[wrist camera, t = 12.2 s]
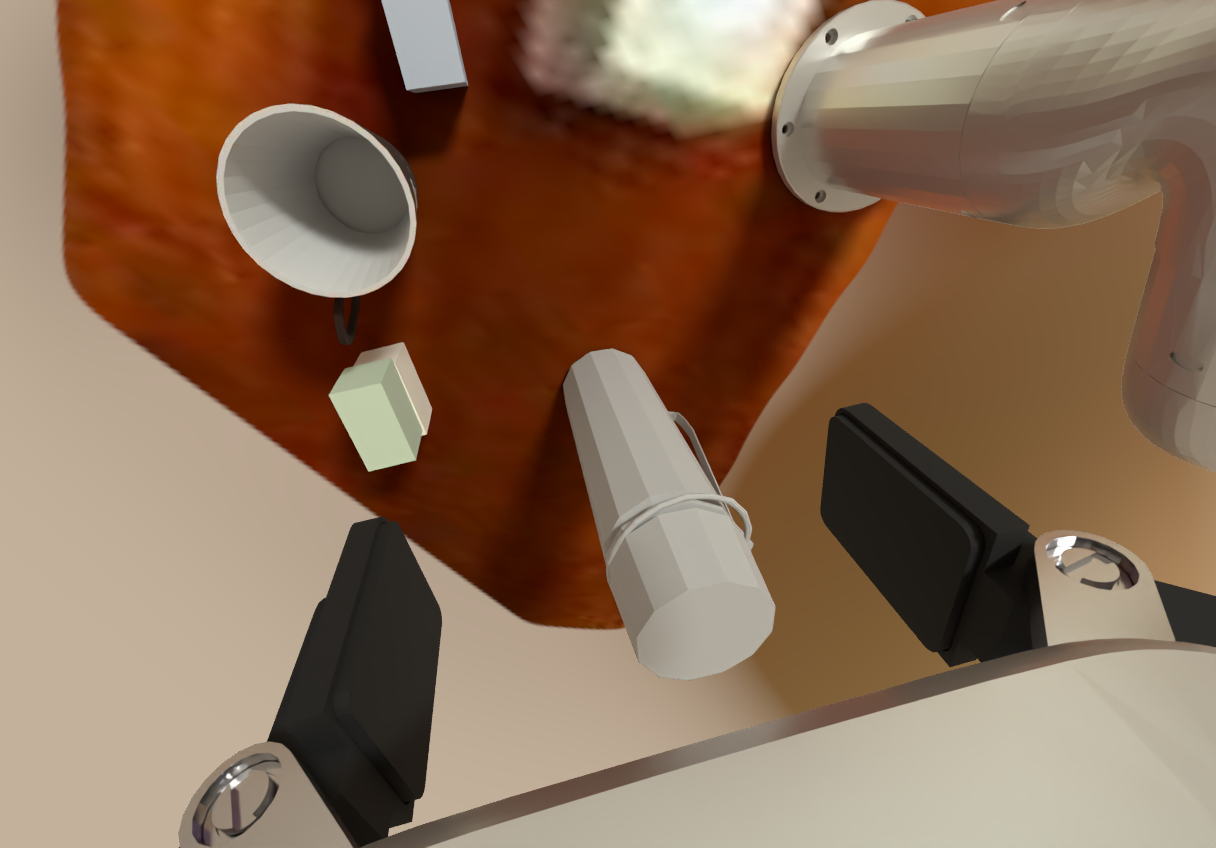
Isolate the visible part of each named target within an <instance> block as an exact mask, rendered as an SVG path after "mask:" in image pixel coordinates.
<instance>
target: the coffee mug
mask: <svg viewBox="0 0 1216 848" xmlns="http://www.w3.org/2000/svg"><path fill="white" fill-rule="evenodd" d="M216 181H217V194H218V198H219V202H220V205H221V209H222V212H223V215H224V217H225V219H226V221H227V223H228V225H229V227H230V229H231V232H232V233H233V235H234V236H235V238H236V239H237V240H238V242H239V243H240V245H241V246H242V247H243V249H244V250H245V251H246V252H247V253H248V254H249V255H250V256H251V257H252V258H253V259H254V261H255V262H256V263H257V264H258V265H259V266H261V267H262V268H263V269H265V270H266V271H267V272H269V273H270V274H271V275H273V276H274V277H275V278H277V279H279V280H281V281H282V282H284V283H286V284H288V285H290V286H292V287H294V288H296V289H299V290H302V291H305V292H307V293H310V294H314V295H320V296H325V297H335V305H334V322H335V328H336V333H337V337H338V340H339V342H340V344H343V345H349V344H351V343H352V342H353V340H354V337H355V333H356V327H357V320H358V312H359V302H360V295H364V294H367V293H369V292H372V291H374V290H377V289H379V288H381V287H382V286H384V285H385V284H387V283H388V282H390V281H391V280H392V279H393V278H394V277H395V276H396V275H397V274H398V273H399V272H400V271H401V270H402V268H403V267H404V265H405V263H406V261H407V260H408V258H409V256H410V254H411V251H412V247H413V244H414V241H415V233H416V221H417V197H418V194H417V184H416V181H415V177H414V174H413V172H412V170H411V168H410V166H409V164H408V162H407V161H406V159H405V158H404V157H403V155H402V154H401V153H400V152H399V151H398V150H397V149H396V148H395V147H394V146H393V145H392V144H390V143H389V142H388V141H386V140H385V139H383V138H382V137H380V136H378V135H376V134H375V133H373V132H371V131H369V130H368V129H366V128H364V127H362V126H361V125H359V124H357V123H355V122H354V121H352V120H350V119H348V118H346V117H344V116H341V115H339V114H337V113H335V112H333V111H330V110H327V109H323V108H320V107H316V106H313V105H303V104H292V103H290V104H282V105H275V106H269V107H267V108H264V109H262V110H259V111H257V112H254V113H252V114H251V115H249V116H248V117H247V118H245V119H244V120H242V121H241V122H240V123H238V124H237V125H236V127H235V128H234V129H233V130H232V132H231V133H230V134H229V136H228V137H227V138H226V140H225V142H224V145H223V147H222V150H221V152H220V154H219V158H218V165H217V172H216ZM348 297H352V305H351V313H350V317H349V323H348V328H347V331H346V328H345V323H344V306H343V300H344V298H348Z"/></svg>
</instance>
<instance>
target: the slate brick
mask: <svg viewBox="0 0 1216 848" xmlns="http://www.w3.org/2000/svg"><path fill="white" fill-rule="evenodd" d="M381 1H382V4H383V8H384V11H385V15H386V19H387V22H388V26H389V29H390V33H391V36H392V40H393V44H394V47H395V51H396V54H397V58H398V62H399V65H400V69H401V72H402V76H403V80H404V83H405V87H406V90H408V91H411V92H414V93H420V92H427V91H434V90H441V89H449V88H456V87H463V86H468V82H467V78H466V73H465V69H464V64H463V60H462V56H461V51H460V47H459V42H458V38H457V33H456V29H455V24H454V20H453V15H452V11H451V6H450V2H449V0H381Z"/></svg>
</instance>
